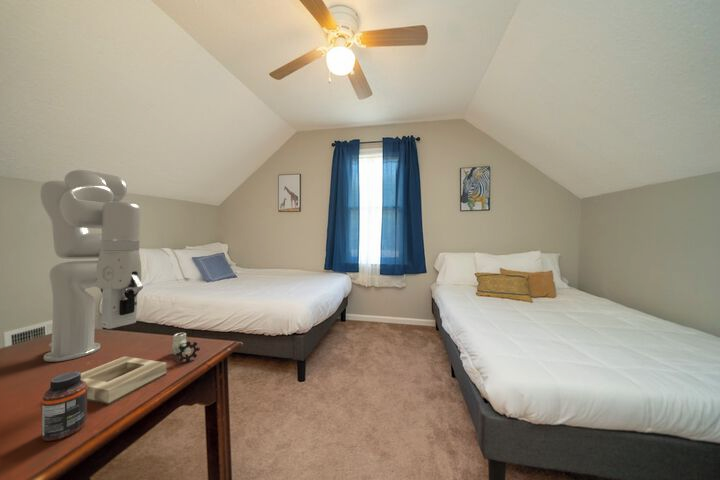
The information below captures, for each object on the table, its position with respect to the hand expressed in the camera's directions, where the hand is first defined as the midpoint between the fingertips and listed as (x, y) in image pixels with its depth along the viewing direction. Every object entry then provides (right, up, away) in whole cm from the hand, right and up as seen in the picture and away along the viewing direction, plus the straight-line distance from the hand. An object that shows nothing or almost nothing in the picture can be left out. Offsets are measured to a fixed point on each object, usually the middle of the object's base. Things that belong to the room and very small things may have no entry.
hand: (119, 312), depth 67 cm
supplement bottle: (+5, -20, -17) cm, 27 cm away
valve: (+6, -20, +16) cm, 27 cm away
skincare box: (0, -4, 0) cm, 4 cm away
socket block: (0, -20, 0) cm, 20 cm away
